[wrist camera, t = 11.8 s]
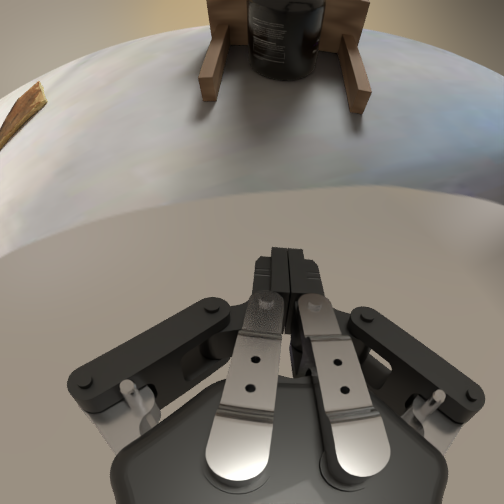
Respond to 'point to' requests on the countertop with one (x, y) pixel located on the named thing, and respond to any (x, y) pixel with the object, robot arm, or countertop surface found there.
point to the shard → (22, 111)
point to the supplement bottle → (284, 36)
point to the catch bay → (332, 40)
